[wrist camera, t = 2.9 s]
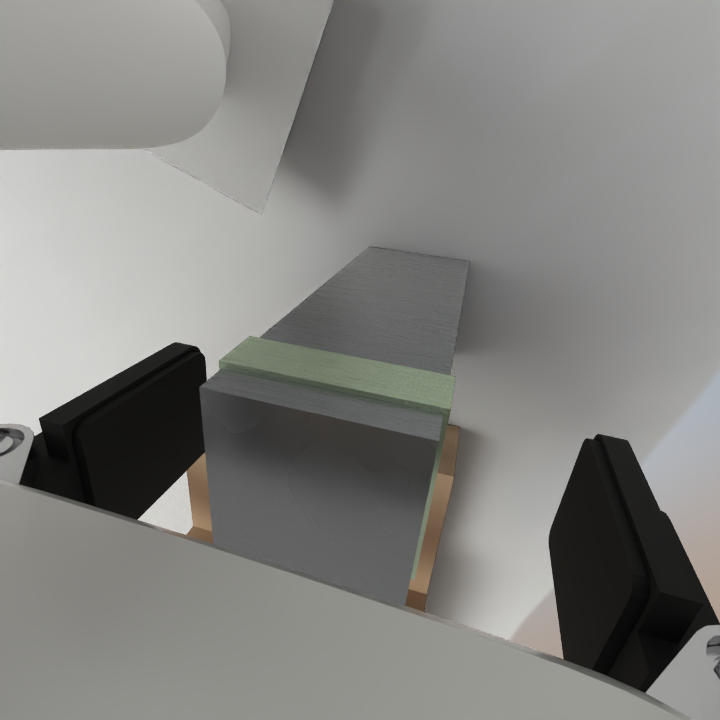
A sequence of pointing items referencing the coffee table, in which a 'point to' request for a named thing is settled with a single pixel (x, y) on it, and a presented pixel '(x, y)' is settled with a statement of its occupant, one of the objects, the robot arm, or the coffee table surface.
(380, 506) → the column
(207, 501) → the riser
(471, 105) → the coffee table surface
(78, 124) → the figurine
